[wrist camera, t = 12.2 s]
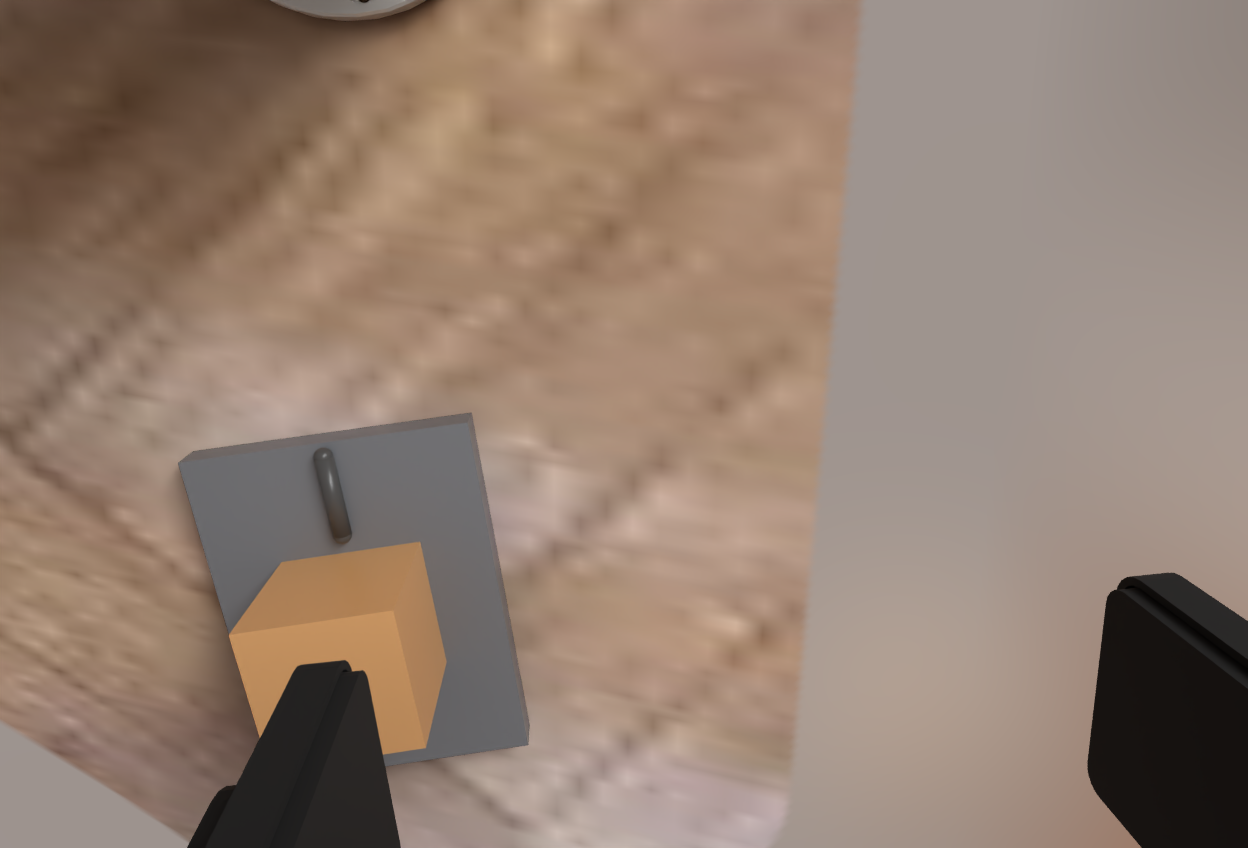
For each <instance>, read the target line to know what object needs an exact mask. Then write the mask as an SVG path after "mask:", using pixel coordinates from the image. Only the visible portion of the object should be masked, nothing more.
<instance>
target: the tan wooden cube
mask: <svg viewBox="0 0 1248 848" xmlns="http://www.w3.org/2000/svg"><path fill="white" fill-rule="evenodd" d="M229 638H230V641H231V645H232V648H233V651H234V655H235V658H236V661H237V665H238V668H239V671H240V674H241V678H242V681H243V684H244V688H245V691H246V694H247V697H248V701H249V704H250V707H251V711H252V714H253V717H254V720H255V724H256V727H257V730H258V734H259V737H261V735H262V733H263V731H264V729H265V727H266V725H267V723H268V721H269V719H270V717H271V715H272V713H273V711H274V709H275V707H276V705H277V703H278V701H279V699H280V697H281V695H282V693H283V691H284V689H285V687H286V685H287V683H288V681H289V679H290V677H291V675H292V673H293V671H294V670H295V669H296V667H297V666H299V665H303V664H312V663H322V662H331V661H341V660H346V661H347V662H349V664H350V666H351V669H352V671H361V670H363V671H365V673H366V675H367V677H368V681H369V686H370V691H371V696H372V702H373V707H374V712H375V717H376V722H377V727H378V732H379V738H380V743H381V748H382V753H383V755H384V754H390V753H397V752H403V751H410V750H416V749H423V748H426V745H427V741H428V737H429V733H430V729H431V725H432V720H433V716H434V712H435V708H436V704H437V700H438V696H439V691H440V687H441V683H442V679H443V675H444V671H445V667H446V663H447V661H446V657H445V652H444V648H443V643H442V639H441V634H440V629H439V625H438V620H437V616H436V611H435V607H434V602H433V598H432V593H431V589H430V584H429V580H428V575H427V571H426V566H425V561H424V557H423V552H422V548H421V543H420V542H414V543H408V544H401V545H394V546H387V547H381V548H374V549H367V550H360V551H354V552H347V553H340V554H333V555H326V556H320V557H313V558H306V559H299V560H293V561H286V562H281V563H280V565H279V566H278V567H277V569H276V570H275V572H274V573H273V574H272V576H271V577H270V579H269V580H268V581H267V583H266V584H265V585H264V587H263V588H262V590H261V591H260V592H259V594H258V595H257V596H256V598H255V599H254V601H253V602H252V603H251V605H250V606H249V608H248V609H247V610H246V612H245V613H244V614H243V616H242V617H241V619H240V620H239V621H238V623H237V624H236V625H235V627H234V628H233V630H232V631H231V632H230V634H229Z"/></svg>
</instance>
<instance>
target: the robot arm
mask: <svg viewBox="0 0 1248 848" xmlns="http://www.w3.org/2000/svg"><path fill="white" fill-rule="evenodd" d="M270 1H272V2H274V3H276V4H277V5H279V6H282V7H285V8H288V9H291V10H294V11H297V12H300V13H303V14H306V15H309V16H311V17H317V18H324V19H332V20H340V21H357V20H370V19H379V18H383V17H386V16H390V15H393V14H397V13H400V12H403V11H407V10H410V9H411V8H413V7H415V6H417V5H419V4H421V3H422V2H424V1H426V0H369V1H368V2H366V3H361V2H360V0H270ZM1088 774H1089V778H1090V781H1091V784H1092V786H1093V788H1094V790H1095V792H1096V793H1097V795H1098V796H1099V797H1100V799H1101V800H1102V801H1103V802H1104V803H1105V805H1106V806H1107V807H1108V808H1109V809H1110V811H1111V812H1112V813H1113V814H1114V815H1115V816H1116V818H1117V819H1118V820H1119V821H1120V822H1121V823H1122V825H1123V826H1124V827H1125V828H1126V830H1127V831H1128V832H1129V833H1130V834H1131V836H1132V837H1133V838H1134V839H1135V840H1136V841H1137V843H1138V844H1139V845H1140V846H1141V847H1142V848H1248V621H1247V620H1245V619H1244V618H1242V617H1241V616H1239V615H1238V614H1236V613H1235V612H1233V611H1232V610H1230V609H1229V608H1227V607H1226V606H1225V605H1223V604H1222V603H1220V602H1219V601H1217V600H1216V599H1214V598H1212V597H1211V596H1210V595H1208V594H1207V593H1205V592H1204V591H1202V590H1201V589H1200V588H1198V587H1196V586H1195V585H1194V584H1192V583H1191V582H1189V581H1188V580H1186V579H1185V578H1183V577H1182V576H1180V575H1178V574H1175V573H1161V574H1152V575H1142V576H1132V577H1127V578H1125V579H1123V580H1121V582H1120V583H1119V585H1118V587H1117V590H1114V591H1112V592H1110V594H1109V595H1108V597H1107V601H1106V609H1105V617H1104V625H1103V634H1102V642H1101V651H1100V660H1099V668H1098V677H1097V685H1096V694H1095V703H1094V711H1093V720H1092V728H1091V737H1090V746H1089V754H1088ZM187 848H401V847H400V840H399V835H398V830H397V825H396V820H395V815H394V809H393V804H392V799H391V794H390V789H389V784H388V779H387V774H386V768H385V763H384V758H383V753H382V748H381V743H380V738H379V732H378V727H377V722H376V717H375V712H374V707H373V702H372V696H371V691H370V686H369V681H368V677H367V675H366V673H365V671H363V670H361V671H352V669H351V666H350V664H349V662H347V661H346V660H341V661H331V662H322V663H312V664H303V665H299V666H297V667H296V669H295V670H294V671H293V673H292V675H291V677H290V679H289V681H288V683H287V685H286V687H285V689H284V691H283V693H282V695H281V697H280V699H279V701H278V703H277V705H276V707H275V709H274V711H273V713H272V715H271V717H270V719H269V721H268V723H267V725H266V727H265V729H264V731H263V733H262V735H261V737H260V739H259V741H258V743H257V745H256V747H255V749H254V751H253V753H252V755H251V757H250V759H249V761H248V763H247V765H246V767H245V769H244V771H243V773H242V775H241V777H240V779H239V781H238V783H237V785H233V786H226V787H224V788H223V789H221V790H219V791H218V793H217V794H216V796H215V797H214V798H213V800H212V801H211V803H210V805H209V807H208V809H207V811H206V813H205V815H204V816H203V818H202V820H201V822H200V824H199V826H198V828H197V830H196V832H195V833H194V835H193V837H192V839H191V841H190V843H189V845H188V847H187Z"/></svg>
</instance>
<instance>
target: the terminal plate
mask: <svg viewBox="0 0 1248 848" xmlns="http://www.w3.org/2000/svg"><path fill="white" fill-rule="evenodd" d="M178 465H179V468H180V471H181V475H182V478H183V481H184V485H185V488H186V492H187V495H188V498H189V502H190V505H191V508H192V512H193V515H194V518H195V522H196V525H197V529H198V532H199V535H200V539H201V542H202V545H203V549H204V552H205V555H206V559H207V562H208V566H209V569H210V572H211V576H212V579H213V582H214V586H215V589H216V592H217V596H218V599H219V603H220V606H221V609H222V613H223V616H224V619H225V623H226V626H227V630H228V633H229V634H230V632H231V631H232V630H233V628H234V627H235V625H236V624H237V623H238V621H239V620H240V619H241V617H242V616H243V614H244V613H245V612H246V610H247V609H248V608H249V606H250V605H251V603H252V602H253V601H254V599H255V598H256V596H257V595H258V594H259V592H260V591H261V590H262V588H263V587H264V585H265V584H266V583H267V581H268V580H269V579H270V577H271V576H272V574H273V573H274V572H275V570H276V569H277V567H278V566H279V565H280V563H281V562H286V561H293V560H299V559H306V558H313V557H320V556H326V555H333V554H340V553H347V552H354V551H360V550H367V549H374V548H381V547H387V546H394V545H401V544H408V543H414V542H420V543H421V548H422V552H423V557H424V561H425V566H426V571H427V575H428V580H429V584H430V589H431V593H432V598H433V602H434V607H435V611H436V616H437V620H438V625H439V629H440V634H441V639H442V643H443V648H444V652H445V657H446V661H447V663H446V667H445V671H444V675H443V679H442V683H441V687H440V691H439V696H438V700H437V704H436V708H435V712H434V716H433V720H432V725H431V729H430V733H429V737H428V741H427V745H426V748H423V749H416V750H410V751H403V752H397V753H390V754H384V755H383V758H384V763H385V766H391V765H398V764H405V763H411V762H418V761H425V760H431V759H438V758H445V757H451V756H458V755H465V754H471V753H478V752H485V751H492V750H498V749H505V748H512V747H518V746H525V745H528V742H529V726H530V725H529V719H528V714H527V709H526V703H525V698H524V692H523V687H522V682H521V676H520V671H519V666H518V660H517V655H516V649H515V644H514V639H513V633H512V628H511V623H510V617H509V612H508V606H507V601H506V596H505V590H504V585H503V580H502V574H501V569H500V563H499V558H498V553H497V547H496V542H495V537H494V531H493V526H492V520H491V515H490V510H489V504H488V499H487V493H486V488H485V483H484V477H483V472H482V467H481V461H480V456H479V450H478V445H477V440H476V434H475V429H474V424H473V418H472V413H466V414H459V415H451V416H444V417H437V418H430V419H423V420H415V421H408V422H401V423H394V424H387V425H379V426H372V427H365V428H358V429H351V430H343V431H336V432H329V433H322V434H315V435H307V436H300V437H293V438H286V439H278V440H271V441H264V442H257V443H250V444H242V445H235V446H228V447H221V448H214V449H206V450H199V451H193V452H192V453H190V454H189V455H188V456H186V457H185V458H184V459H182V460H181V461H180V462H178Z"/></svg>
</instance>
